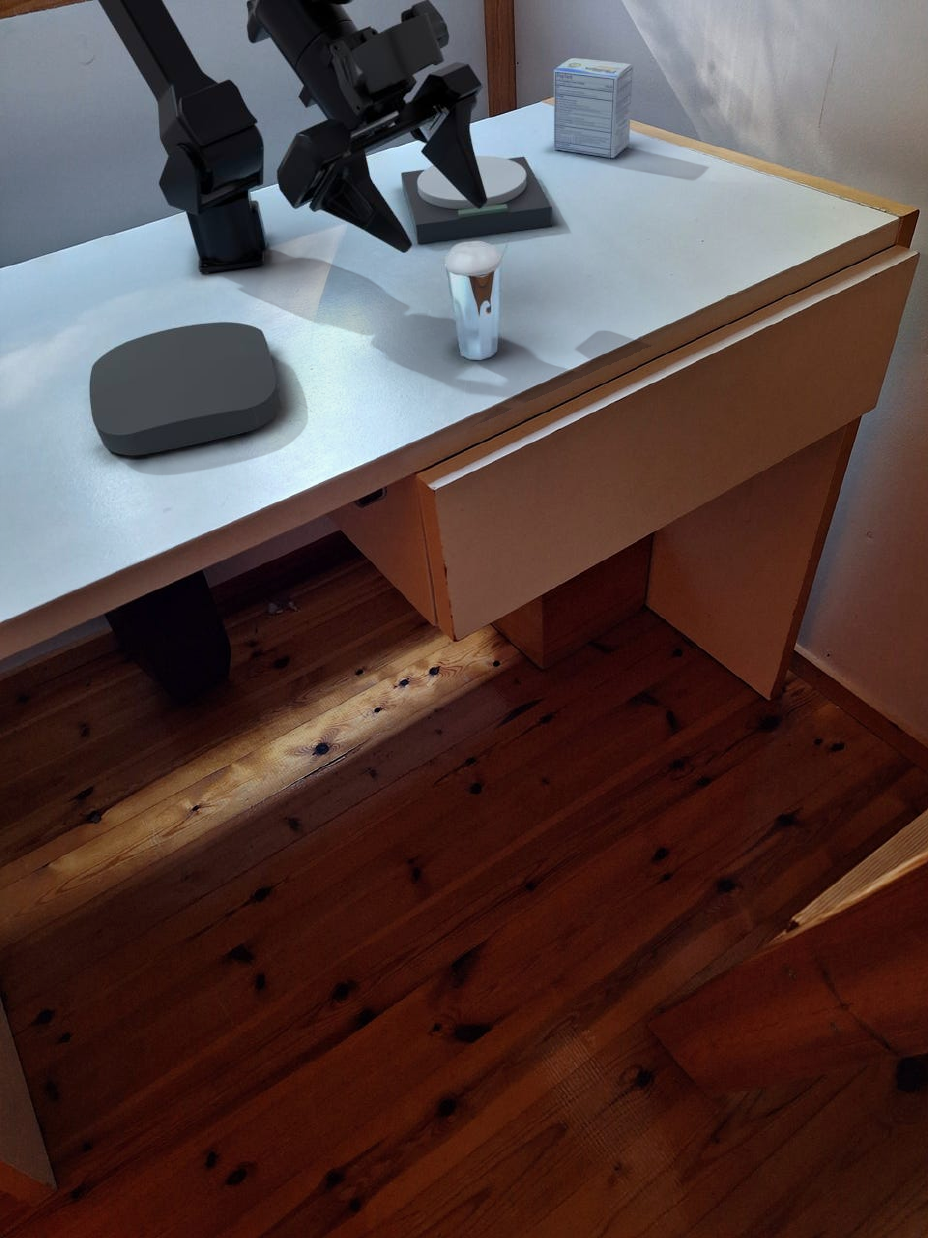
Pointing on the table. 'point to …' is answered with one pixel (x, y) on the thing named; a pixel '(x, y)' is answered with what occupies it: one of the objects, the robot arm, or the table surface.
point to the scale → (453, 216)
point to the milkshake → (475, 296)
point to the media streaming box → (183, 388)
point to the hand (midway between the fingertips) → (447, 226)
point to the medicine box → (592, 106)
